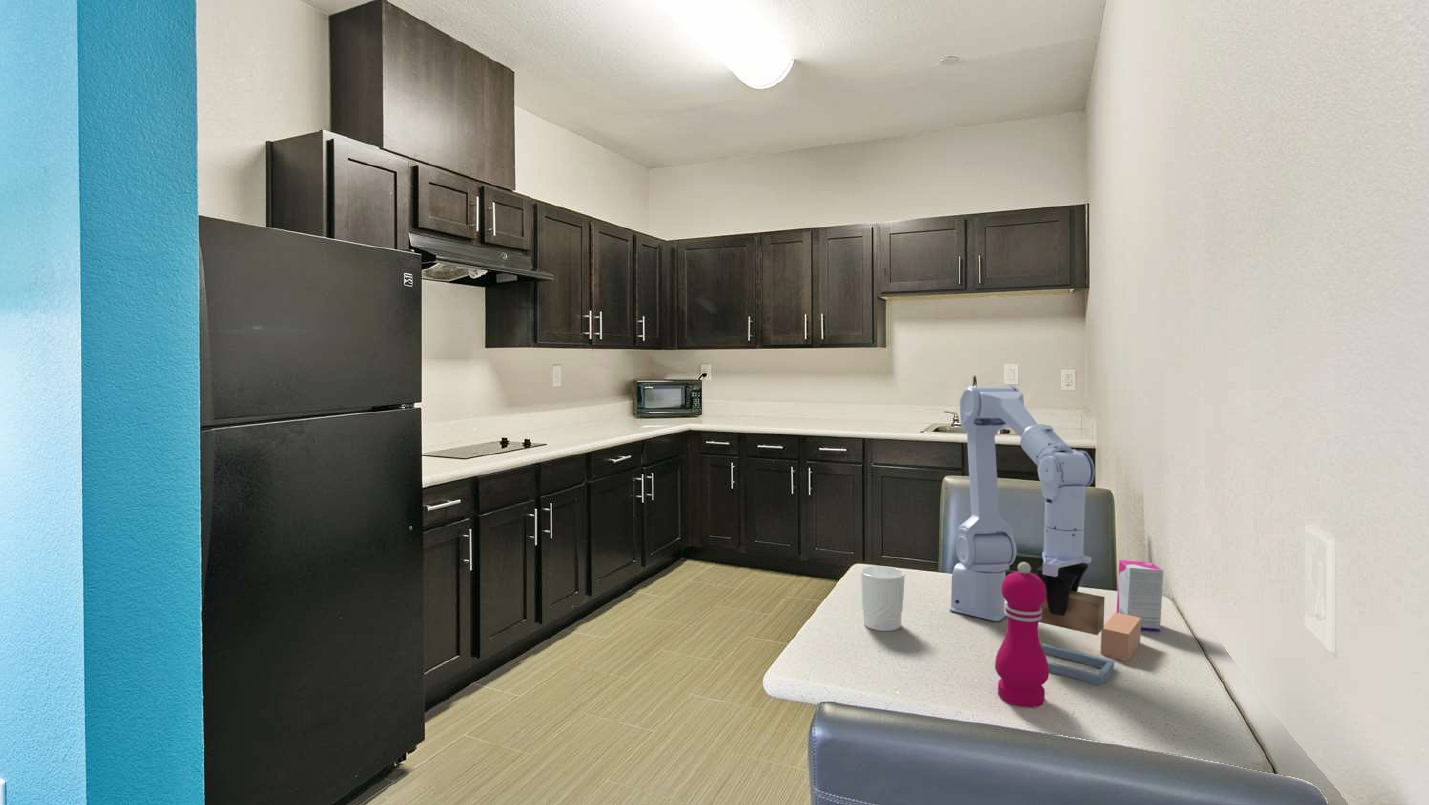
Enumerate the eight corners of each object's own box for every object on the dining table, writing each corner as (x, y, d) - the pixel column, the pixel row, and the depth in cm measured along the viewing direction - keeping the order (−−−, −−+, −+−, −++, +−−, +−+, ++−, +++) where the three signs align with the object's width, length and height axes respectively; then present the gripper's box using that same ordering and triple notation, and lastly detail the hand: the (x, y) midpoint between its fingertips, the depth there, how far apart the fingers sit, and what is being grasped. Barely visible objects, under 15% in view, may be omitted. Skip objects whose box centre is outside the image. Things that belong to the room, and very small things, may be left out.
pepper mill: (985, 687, 108) (988, 556, 106) (1031, 685, 108) (1035, 555, 107) (1009, 710, 100) (1012, 570, 99) (1058, 708, 101) (1062, 569, 100)
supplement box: (1161, 632, 130) (1164, 569, 129) (1125, 629, 131) (1128, 568, 130) (1149, 620, 135) (1151, 561, 135) (1115, 618, 136) (1117, 559, 136)
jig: (995, 664, 116) (995, 657, 115) (1023, 639, 126) (1023, 632, 126) (1096, 692, 106) (1097, 684, 106) (1118, 662, 117) (1118, 655, 116)
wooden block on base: (1022, 618, 117) (1023, 588, 117) (1030, 612, 120) (1031, 582, 120) (1097, 635, 110) (1098, 603, 110) (1103, 628, 113) (1104, 597, 113)
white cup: (856, 629, 131) (857, 575, 130) (864, 615, 138) (865, 564, 138) (900, 635, 128) (901, 580, 127) (906, 620, 135) (907, 568, 135)
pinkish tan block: (1100, 655, 120) (1101, 628, 120) (1114, 638, 127) (1115, 612, 127) (1127, 662, 117) (1128, 634, 117) (1140, 643, 125) (1141, 617, 125)
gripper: (1079, 539, 106) (1076, 629, 107) (1102, 522, 117) (1100, 604, 118) (1029, 532, 111) (1027, 618, 112) (1056, 516, 122) (1054, 595, 123)
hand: (1061, 610), depth 115 cm, fingers closed on wooden block on base, 4 cm apart
